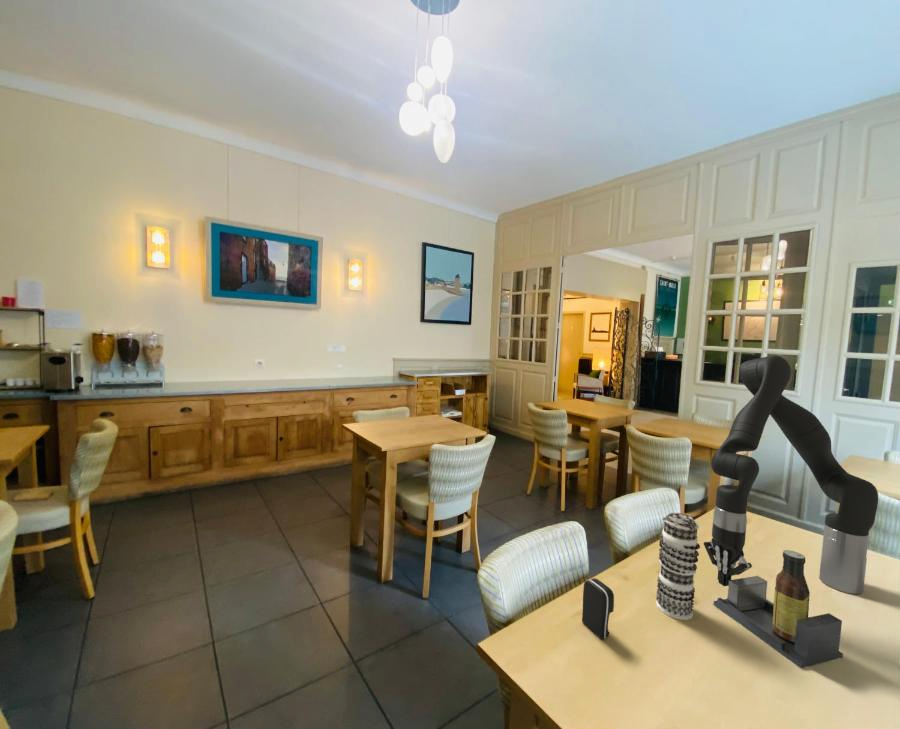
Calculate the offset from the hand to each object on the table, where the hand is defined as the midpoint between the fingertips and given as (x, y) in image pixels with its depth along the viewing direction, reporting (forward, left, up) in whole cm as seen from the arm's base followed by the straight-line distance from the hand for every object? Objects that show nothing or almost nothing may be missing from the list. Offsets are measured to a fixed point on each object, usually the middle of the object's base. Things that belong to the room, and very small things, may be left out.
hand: (723, 584), depth 110 cm
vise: (0, +13, -3) cm, 13 cm away
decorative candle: (+18, +2, -3) cm, 19 cm away
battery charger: (+43, +4, -3) cm, 44 cm away
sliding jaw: (0, +6, -2) cm, 7 cm away
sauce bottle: (0, +17, -2) cm, 17 cm away
